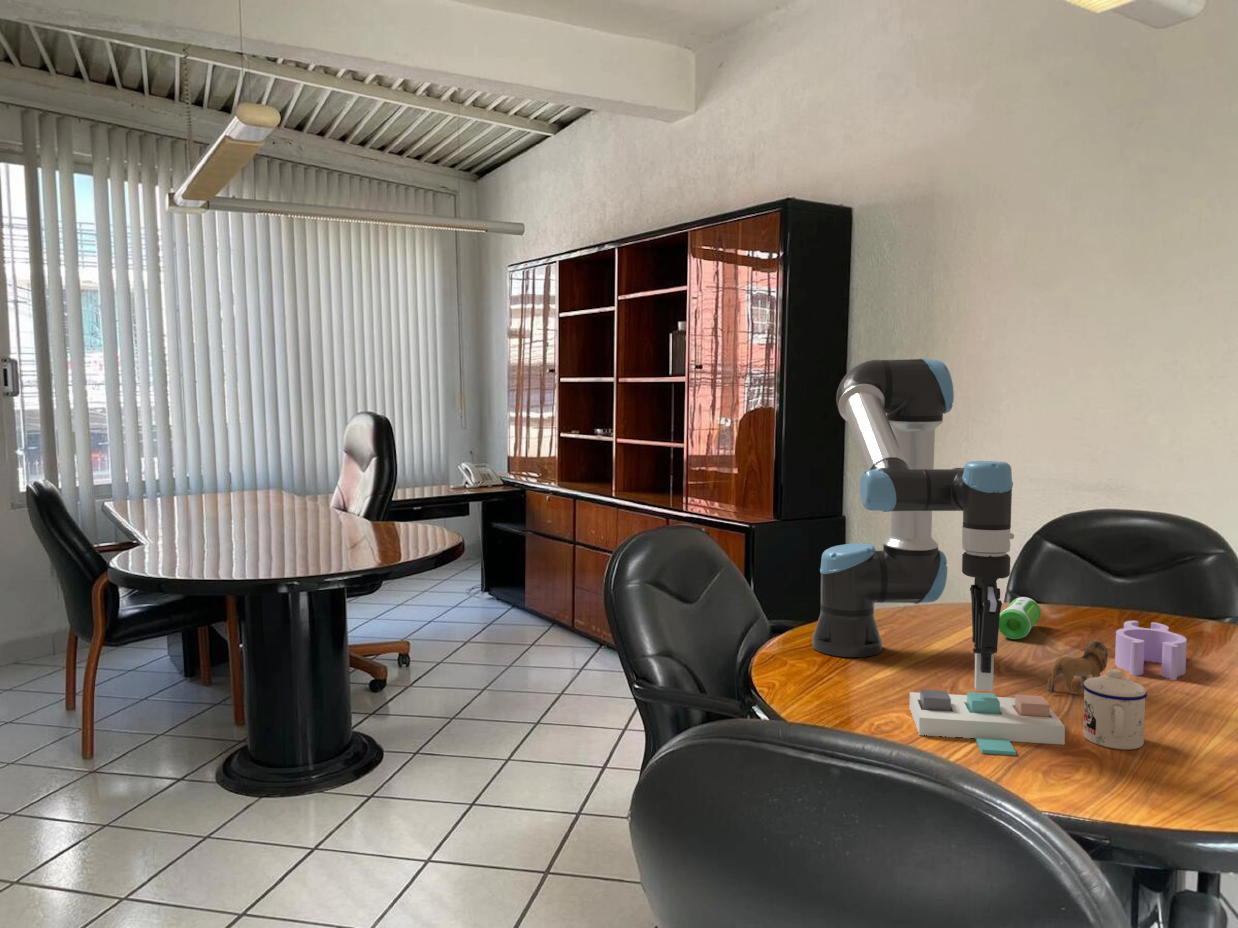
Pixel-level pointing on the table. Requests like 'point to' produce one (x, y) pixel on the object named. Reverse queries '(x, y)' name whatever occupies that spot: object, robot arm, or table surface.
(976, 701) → the teal button
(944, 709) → the charcoal button
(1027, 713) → the terracotta button
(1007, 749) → the tile
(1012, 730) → the button board
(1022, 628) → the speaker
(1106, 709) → the teacup with lid
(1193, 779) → the table surface
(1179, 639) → the clip
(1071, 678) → the lion figurine
